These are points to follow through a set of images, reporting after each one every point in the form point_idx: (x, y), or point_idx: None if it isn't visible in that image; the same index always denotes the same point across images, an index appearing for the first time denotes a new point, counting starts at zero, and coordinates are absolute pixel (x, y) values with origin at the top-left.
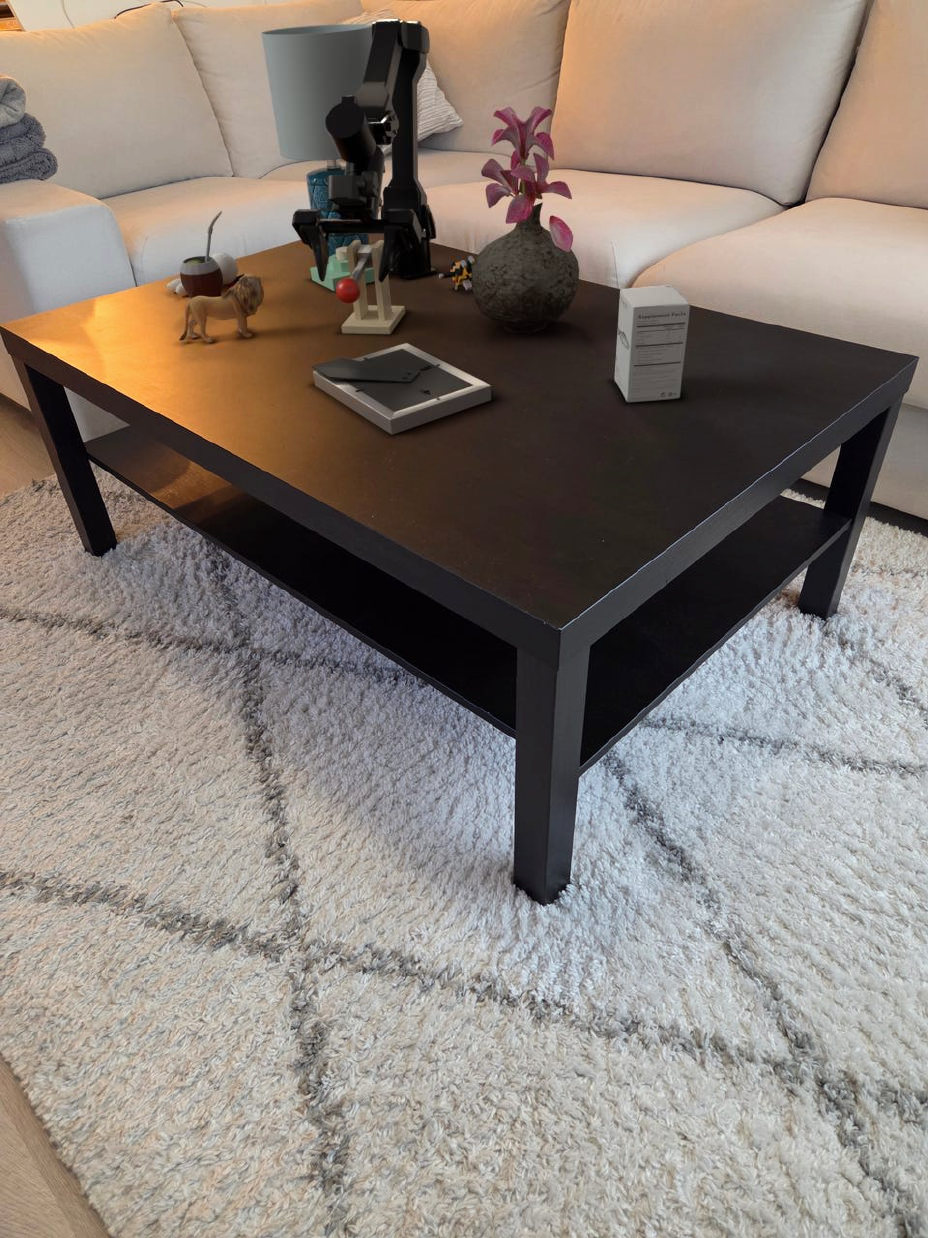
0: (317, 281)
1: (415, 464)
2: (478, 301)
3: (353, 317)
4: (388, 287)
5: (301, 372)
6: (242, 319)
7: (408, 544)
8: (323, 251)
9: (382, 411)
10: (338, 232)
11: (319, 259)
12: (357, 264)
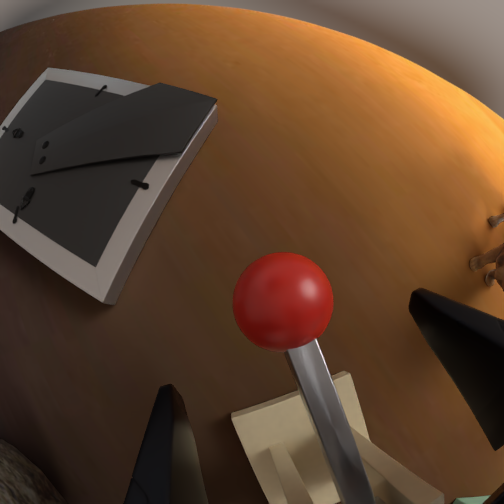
0: (486, 496)
1: (30, 64)
2: (20, 466)
3: (353, 427)
4: None
5: (280, 156)
6: (493, 249)
7: (31, 22)
8: (493, 375)
9: (58, 72)
10: (502, 484)
11: (472, 320)
12: (364, 473)
